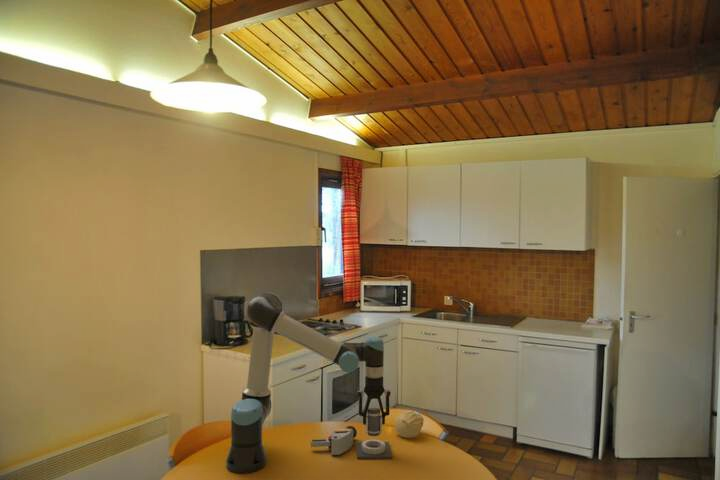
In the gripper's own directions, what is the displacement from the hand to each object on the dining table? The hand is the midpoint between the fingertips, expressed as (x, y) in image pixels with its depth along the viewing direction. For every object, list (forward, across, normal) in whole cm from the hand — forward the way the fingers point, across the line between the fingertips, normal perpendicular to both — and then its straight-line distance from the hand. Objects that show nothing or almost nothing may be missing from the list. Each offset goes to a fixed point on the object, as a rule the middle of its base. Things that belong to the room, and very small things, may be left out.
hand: (373, 432), depth 204 cm
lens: (+1, 0, 0) cm, 1 cm away
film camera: (+8, -16, +6) cm, 19 cm away
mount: (+8, 0, 0) cm, 8 cm away
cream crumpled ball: (+8, +17, +16) cm, 25 cm away
